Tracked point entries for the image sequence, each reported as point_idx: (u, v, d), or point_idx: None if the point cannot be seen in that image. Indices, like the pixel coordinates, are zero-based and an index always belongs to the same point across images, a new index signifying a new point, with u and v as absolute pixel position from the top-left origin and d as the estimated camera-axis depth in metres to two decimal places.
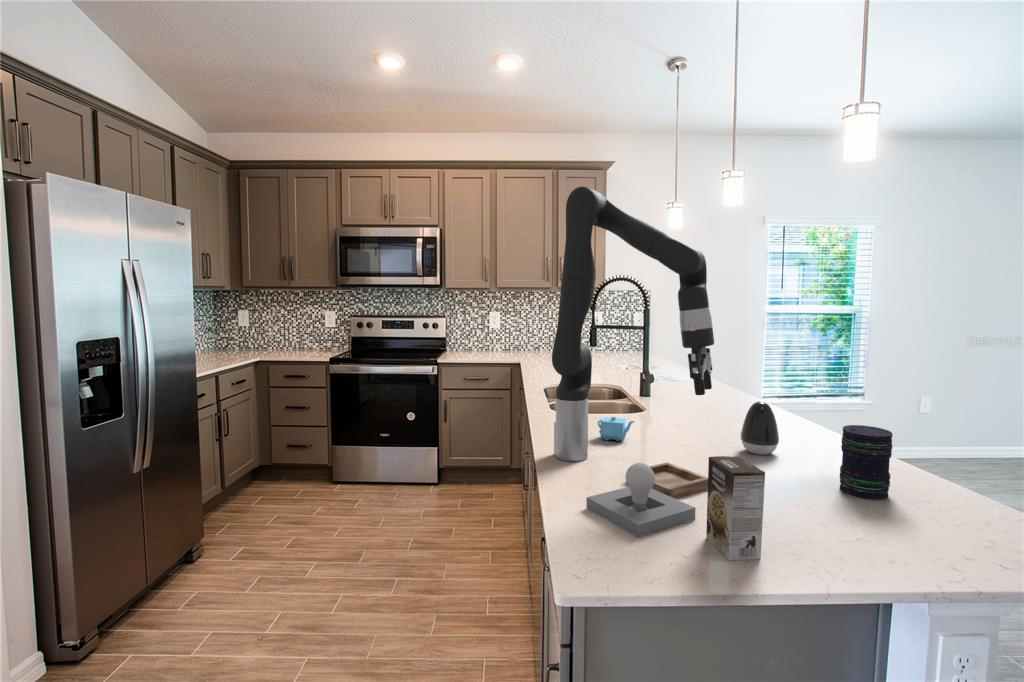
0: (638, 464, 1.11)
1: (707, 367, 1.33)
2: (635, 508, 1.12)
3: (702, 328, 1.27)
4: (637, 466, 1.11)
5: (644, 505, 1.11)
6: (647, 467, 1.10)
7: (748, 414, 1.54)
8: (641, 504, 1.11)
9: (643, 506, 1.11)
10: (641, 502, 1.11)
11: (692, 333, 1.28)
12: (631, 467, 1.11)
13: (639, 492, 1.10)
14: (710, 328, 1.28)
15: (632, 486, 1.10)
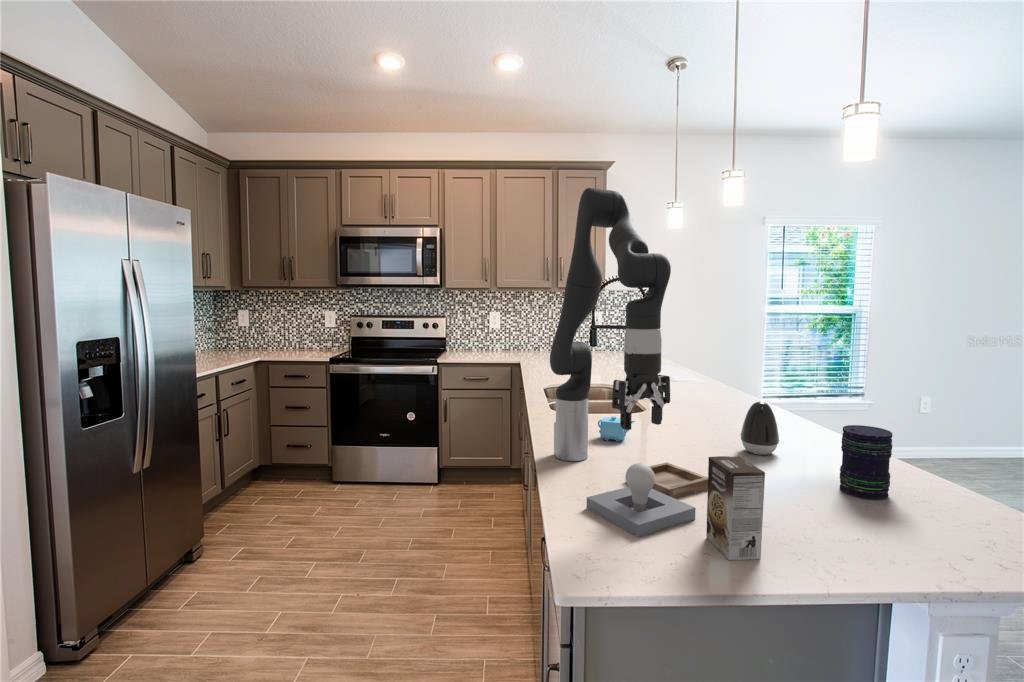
0: (638, 464, 1.11)
1: (655, 398, 1.11)
2: (635, 508, 1.12)
3: (638, 353, 1.06)
4: (637, 466, 1.11)
5: (644, 505, 1.11)
6: (647, 467, 1.10)
7: (748, 414, 1.54)
8: (641, 504, 1.11)
9: (643, 506, 1.11)
10: (641, 502, 1.11)
11: (628, 356, 1.08)
12: (631, 467, 1.11)
13: (639, 492, 1.10)
14: (650, 354, 1.06)
15: (632, 486, 1.10)
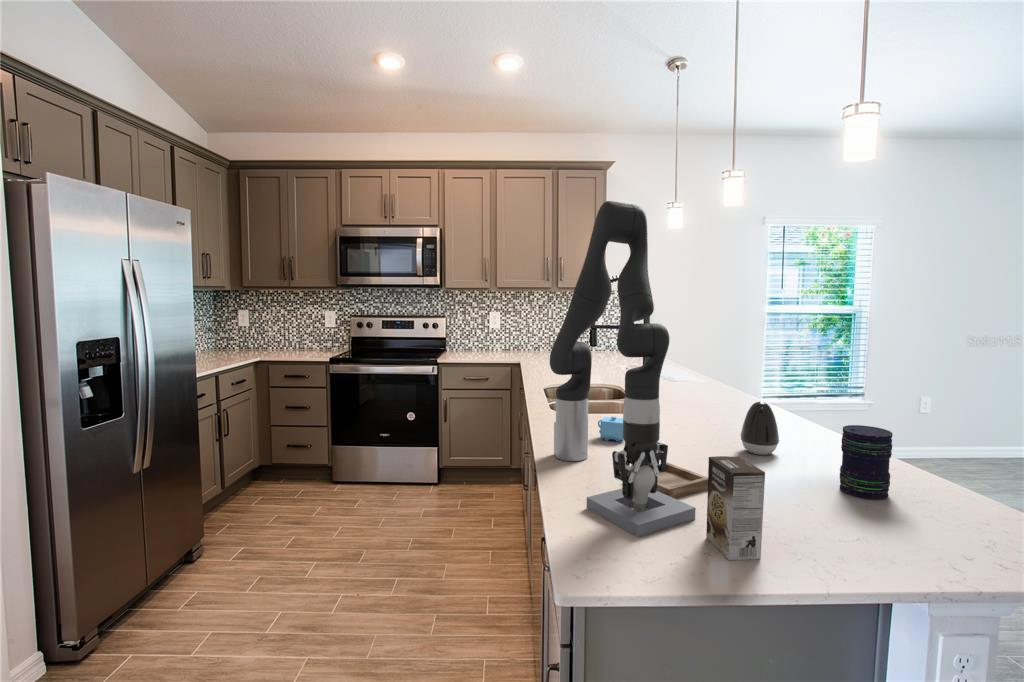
0: None
1: (651, 467, 1.12)
2: (635, 508, 1.12)
3: (637, 423, 1.07)
4: None
5: (644, 505, 1.11)
6: (647, 467, 1.10)
7: (748, 414, 1.54)
8: (641, 504, 1.11)
9: (643, 506, 1.11)
10: (641, 502, 1.11)
11: (627, 425, 1.09)
12: None
13: (639, 492, 1.10)
14: (649, 424, 1.07)
15: None
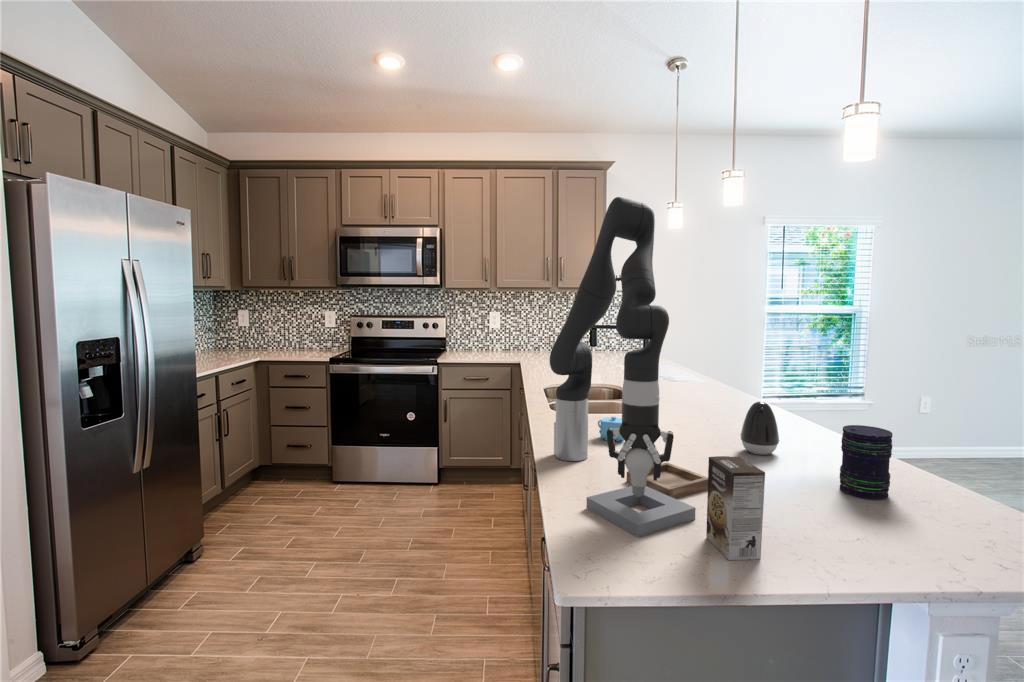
0: None
1: (650, 452, 1.10)
2: (632, 489, 1.12)
3: (624, 403, 1.09)
4: None
5: (639, 488, 1.11)
6: (642, 450, 1.10)
7: (748, 414, 1.54)
8: (635, 486, 1.11)
9: (637, 489, 1.11)
10: (634, 484, 1.11)
11: None
12: (631, 448, 1.12)
13: (631, 473, 1.11)
14: (634, 406, 1.07)
15: None
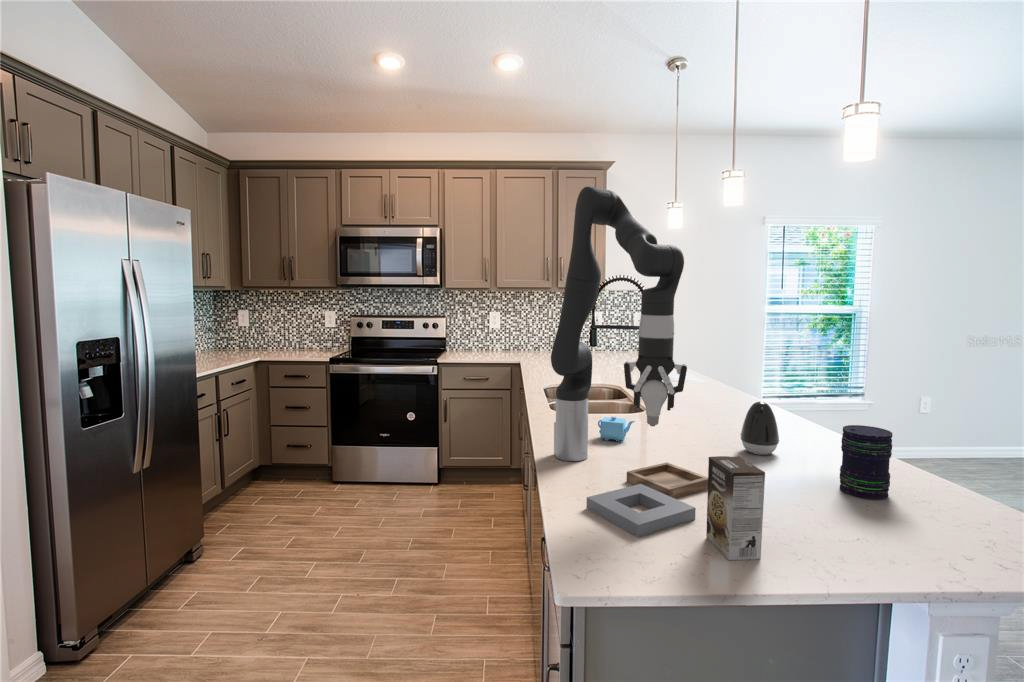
0: None
1: (665, 383, 1.17)
2: (647, 419, 1.20)
3: (641, 336, 1.16)
4: None
5: (653, 418, 1.18)
6: (657, 382, 1.17)
7: (748, 414, 1.54)
8: (650, 416, 1.18)
9: (651, 418, 1.18)
10: (649, 414, 1.18)
11: None
12: None
13: (646, 403, 1.18)
14: (650, 338, 1.14)
15: (641, 396, 1.19)
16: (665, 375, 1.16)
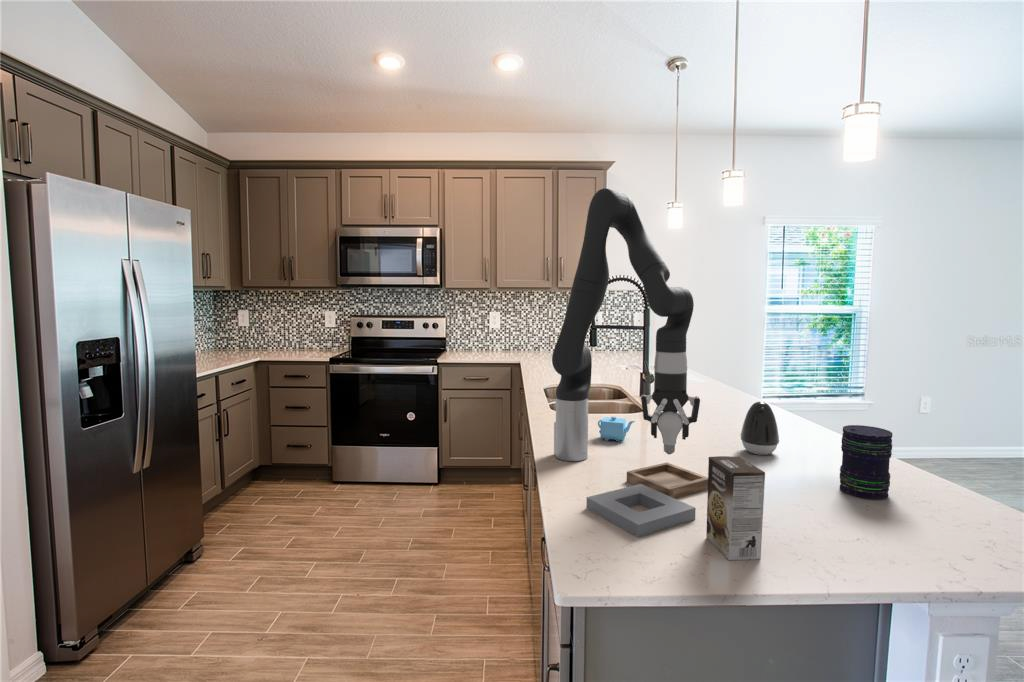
0: None
1: (680, 415, 1.26)
2: None
3: (657, 372, 1.26)
4: None
5: (670, 446, 1.27)
6: (672, 413, 1.26)
7: (748, 414, 1.54)
8: (667, 445, 1.27)
9: (668, 447, 1.27)
10: (666, 443, 1.27)
11: (654, 374, 1.28)
12: (662, 412, 1.29)
13: (663, 433, 1.27)
14: (665, 374, 1.24)
15: None
16: (680, 407, 1.25)
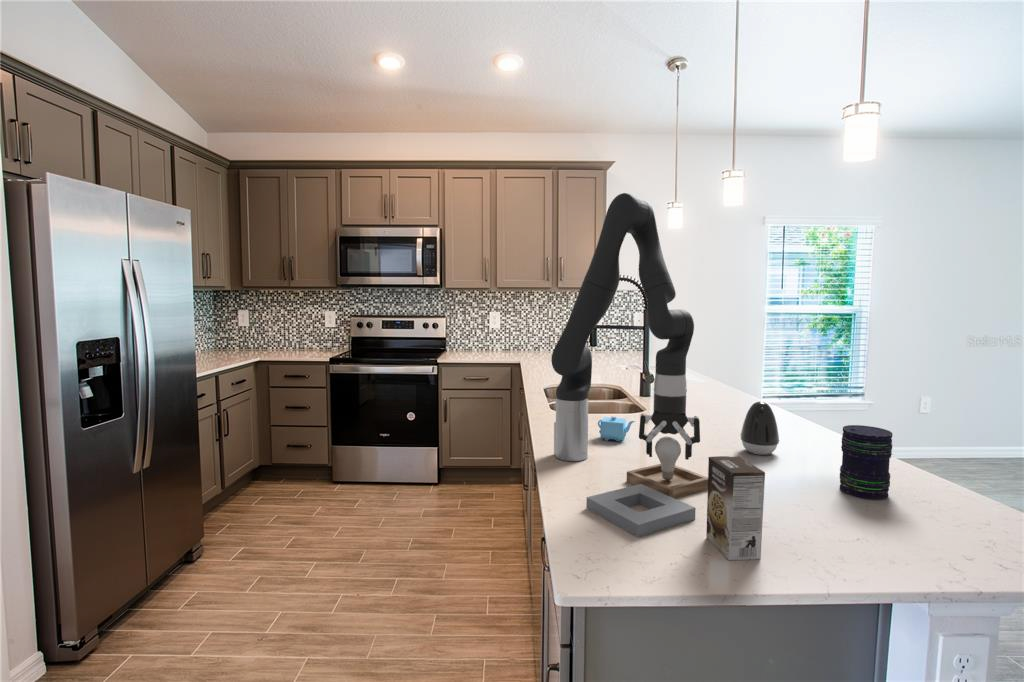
0: (665, 436, 1.29)
1: None
2: (662, 474, 1.29)
3: (656, 394, 1.26)
4: (662, 437, 1.28)
5: (668, 473, 1.28)
6: (670, 440, 1.27)
7: (748, 414, 1.54)
8: (665, 471, 1.28)
9: (666, 473, 1.28)
10: (664, 469, 1.28)
11: None
12: (660, 438, 1.30)
13: (661, 460, 1.28)
14: (665, 396, 1.24)
15: (656, 453, 1.29)
16: (680, 428, 1.26)
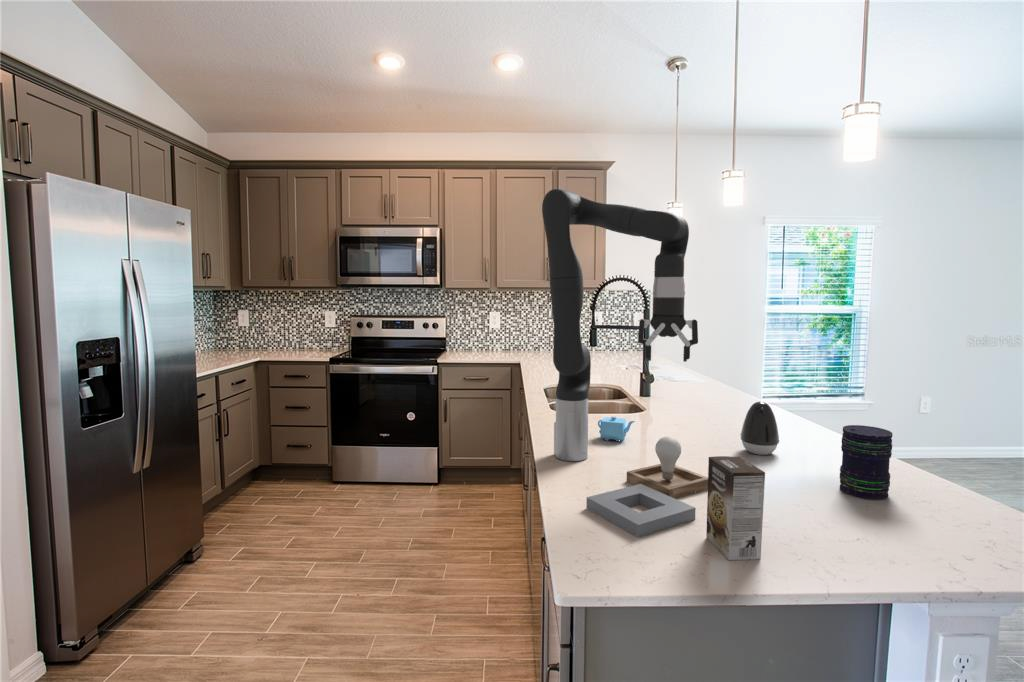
0: (666, 437, 1.28)
1: (680, 338, 1.29)
2: (662, 474, 1.29)
3: (655, 297, 1.29)
4: (663, 438, 1.28)
5: (668, 473, 1.28)
6: (671, 440, 1.27)
7: (748, 414, 1.54)
8: (665, 471, 1.28)
9: (666, 473, 1.28)
10: (664, 469, 1.28)
11: None
12: None
13: (661, 460, 1.28)
14: (663, 298, 1.27)
15: (656, 453, 1.29)
16: (679, 330, 1.28)
